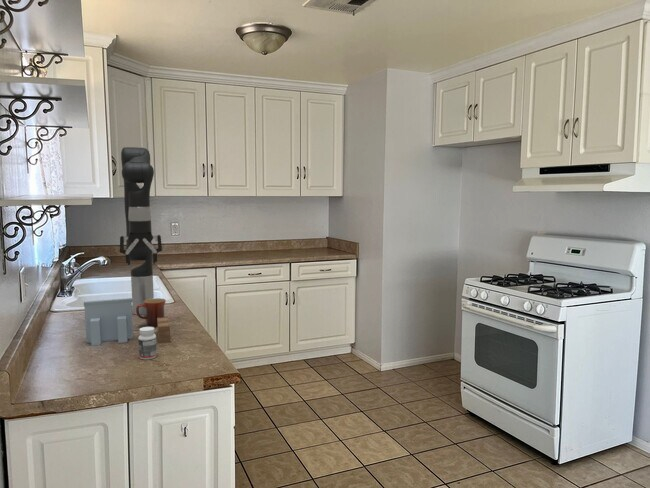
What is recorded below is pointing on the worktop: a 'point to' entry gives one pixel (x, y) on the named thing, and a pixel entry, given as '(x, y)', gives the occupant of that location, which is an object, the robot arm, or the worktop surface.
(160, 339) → the bed rail
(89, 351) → the worktop surface
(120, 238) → the robot arm
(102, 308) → the grey two-legged bench
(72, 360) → the worktop surface
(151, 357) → the pill bottle
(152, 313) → the mug
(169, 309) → the worktop surface
